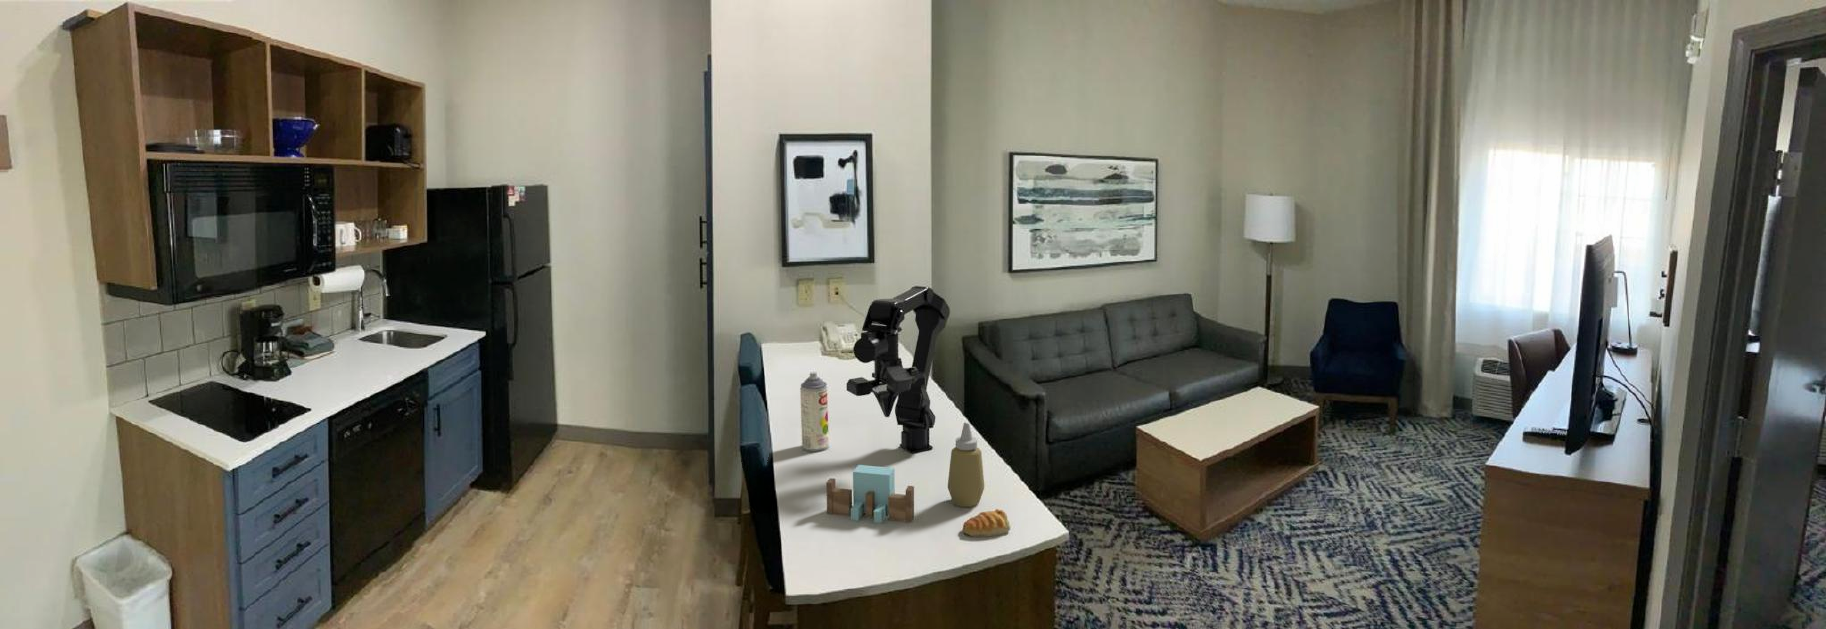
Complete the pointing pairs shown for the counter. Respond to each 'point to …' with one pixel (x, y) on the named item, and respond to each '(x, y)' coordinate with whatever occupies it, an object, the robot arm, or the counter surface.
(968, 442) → the squeeze bottle
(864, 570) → the counter surface
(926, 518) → the counter surface
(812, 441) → the aerosol can
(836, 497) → the rail
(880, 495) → the pale blue brick
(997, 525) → the pastry
